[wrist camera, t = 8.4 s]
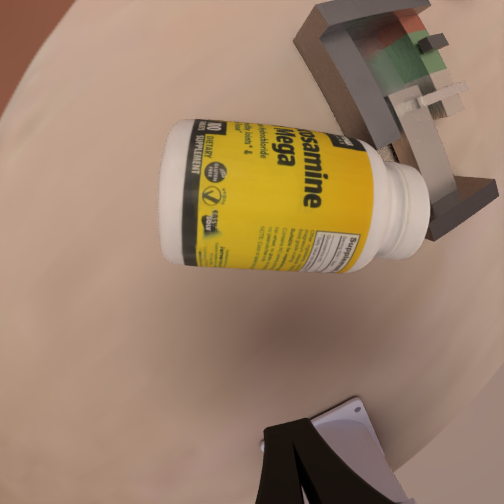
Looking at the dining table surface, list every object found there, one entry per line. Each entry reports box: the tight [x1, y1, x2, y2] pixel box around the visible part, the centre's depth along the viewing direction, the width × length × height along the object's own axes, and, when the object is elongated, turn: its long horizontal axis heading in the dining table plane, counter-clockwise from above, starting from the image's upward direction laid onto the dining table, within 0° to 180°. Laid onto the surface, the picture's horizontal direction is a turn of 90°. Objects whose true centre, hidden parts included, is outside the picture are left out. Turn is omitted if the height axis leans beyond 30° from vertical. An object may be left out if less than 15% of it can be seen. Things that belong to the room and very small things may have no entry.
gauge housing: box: [293, 0, 465, 150], centre depth 14 cm, size 7×7×4 cm
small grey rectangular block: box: [418, 33, 449, 53], centre depth 12 cm, size 1×1×1 cm, turn 117°
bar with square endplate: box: [384, 81, 499, 241], centre depth 15 cm, size 7×6×4 cm
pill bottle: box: [158, 119, 430, 273], centre depth 14 cm, size 6×6×11 cm
